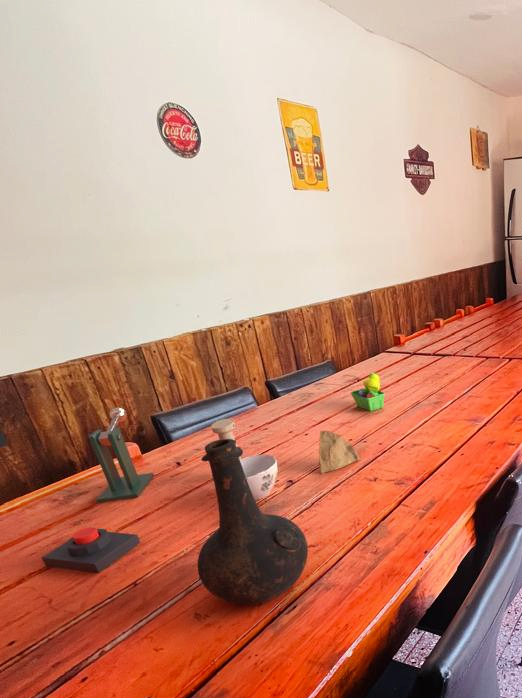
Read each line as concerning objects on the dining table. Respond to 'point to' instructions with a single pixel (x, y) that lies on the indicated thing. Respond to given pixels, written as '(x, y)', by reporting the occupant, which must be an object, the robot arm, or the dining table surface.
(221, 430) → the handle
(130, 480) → the bracket
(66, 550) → the control block
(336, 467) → the rock
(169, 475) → the dining table surface
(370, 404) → the fruit basket
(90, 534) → the button
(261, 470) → the teacup
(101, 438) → the lever
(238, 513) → the glass bottle
